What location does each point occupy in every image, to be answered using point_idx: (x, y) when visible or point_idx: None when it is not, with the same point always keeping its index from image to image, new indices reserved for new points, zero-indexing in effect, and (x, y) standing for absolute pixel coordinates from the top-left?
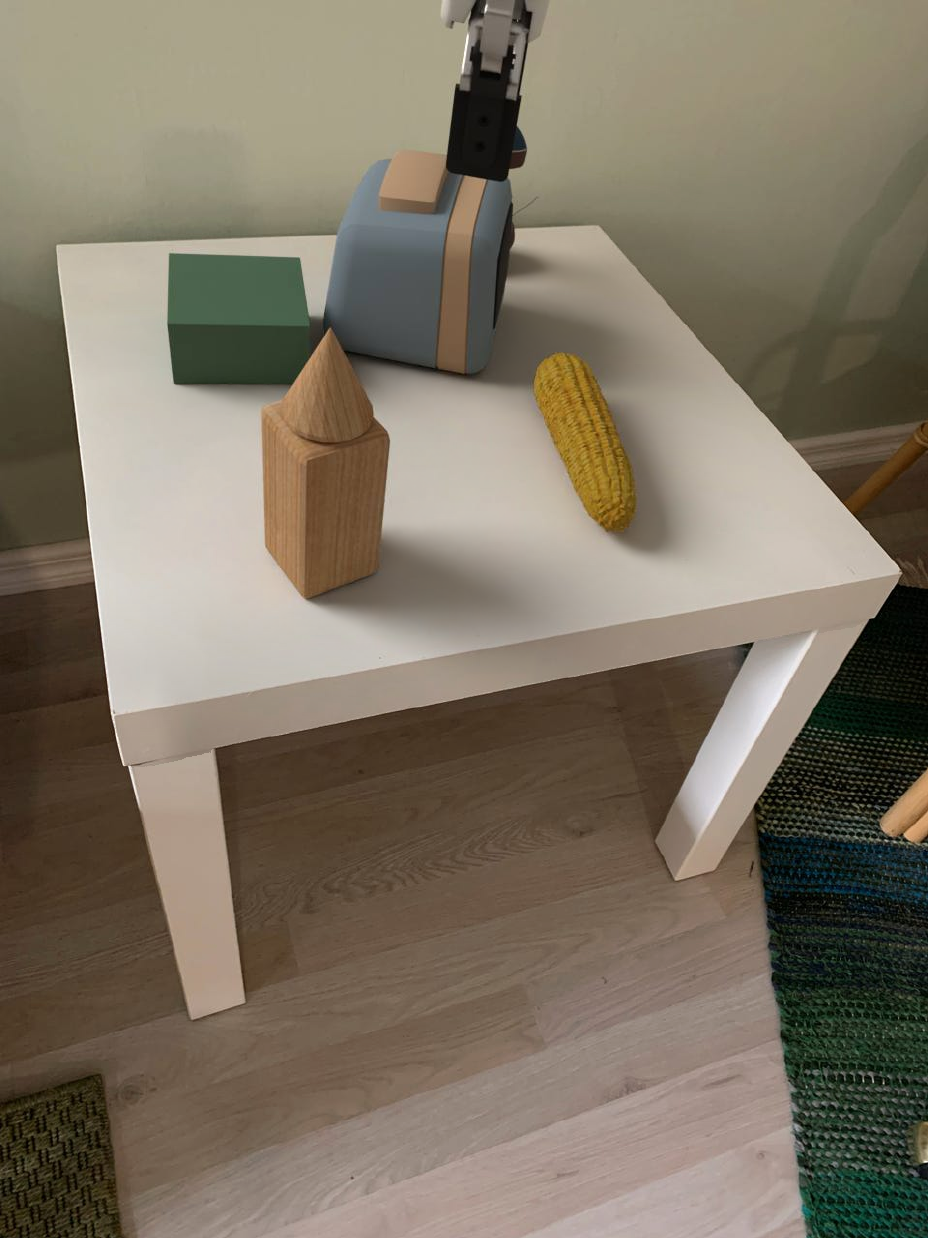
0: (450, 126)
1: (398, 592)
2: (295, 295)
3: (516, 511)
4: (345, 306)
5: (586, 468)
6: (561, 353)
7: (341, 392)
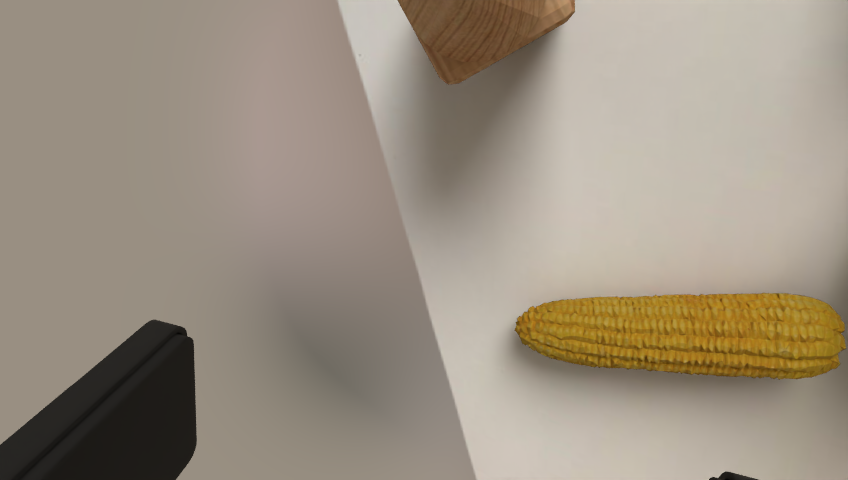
0: (67, 392)
1: None
2: None
3: (580, 226)
4: None
5: (589, 319)
6: (831, 352)
7: (423, 8)
